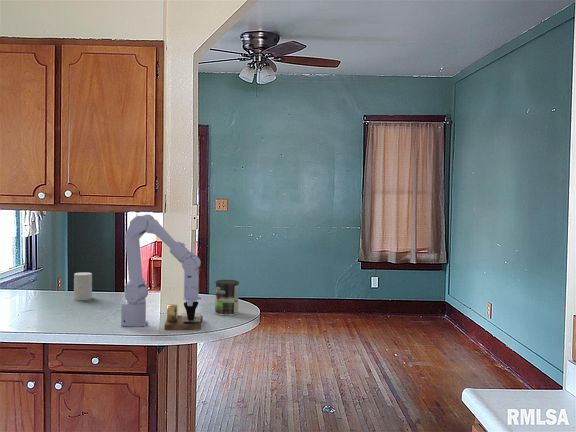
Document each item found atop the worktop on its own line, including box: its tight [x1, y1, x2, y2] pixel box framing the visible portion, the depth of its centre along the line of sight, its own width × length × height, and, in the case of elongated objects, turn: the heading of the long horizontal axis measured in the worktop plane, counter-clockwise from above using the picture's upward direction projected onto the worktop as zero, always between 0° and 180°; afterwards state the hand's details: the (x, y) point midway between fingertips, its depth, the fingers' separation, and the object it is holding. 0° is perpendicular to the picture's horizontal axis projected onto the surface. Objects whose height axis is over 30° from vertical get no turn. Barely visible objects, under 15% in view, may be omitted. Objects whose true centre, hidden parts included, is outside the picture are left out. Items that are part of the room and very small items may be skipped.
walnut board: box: [163, 314, 203, 331], centre depth 248 cm, size 14×16×2 cm
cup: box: [73, 272, 93, 301], centre depth 295 cm, size 8×8×12 cm
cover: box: [182, 312, 202, 322], centre depth 248 cm, size 7×7×2 cm
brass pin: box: [166, 304, 178, 323], centre depth 244 cm, size 4×4×6 cm
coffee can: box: [214, 279, 240, 317], centre depth 270 cm, size 10×10×14 cm
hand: (190, 320), depth 243 cm, fingers closed
